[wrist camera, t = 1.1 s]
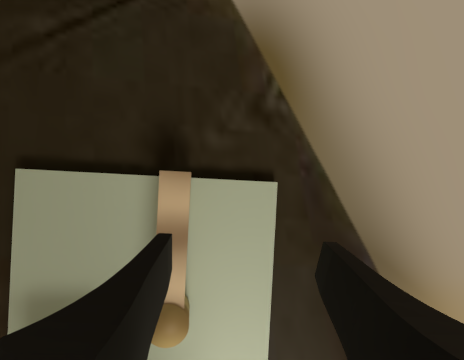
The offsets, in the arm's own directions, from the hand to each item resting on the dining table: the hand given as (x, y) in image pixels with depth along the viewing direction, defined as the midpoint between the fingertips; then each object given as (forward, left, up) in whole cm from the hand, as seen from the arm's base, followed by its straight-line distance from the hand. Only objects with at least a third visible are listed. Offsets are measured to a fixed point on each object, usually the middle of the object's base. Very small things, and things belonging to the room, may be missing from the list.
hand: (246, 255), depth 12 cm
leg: (-3, +4, -13) cm, 14 cm away
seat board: (-6, +6, -15) cm, 17 cm away
